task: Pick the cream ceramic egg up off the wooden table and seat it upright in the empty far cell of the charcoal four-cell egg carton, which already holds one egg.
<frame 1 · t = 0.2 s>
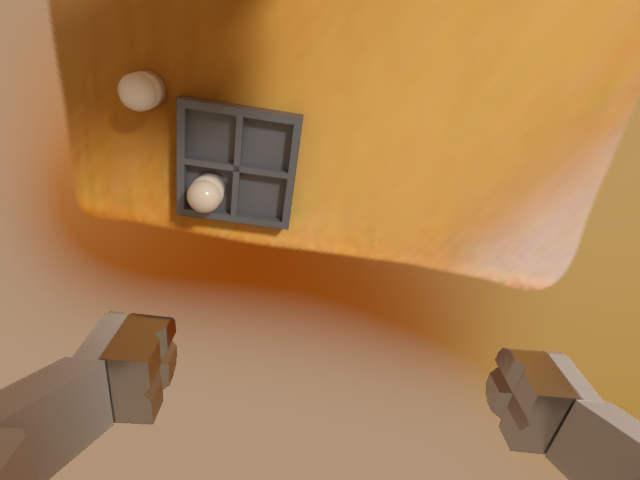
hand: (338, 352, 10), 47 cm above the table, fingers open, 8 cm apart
egg: (148, 88, 52), on the table
resting egg: (210, 187, 57), point 1 cm above the table, touching carton
carton: (239, 163, 56), on the table
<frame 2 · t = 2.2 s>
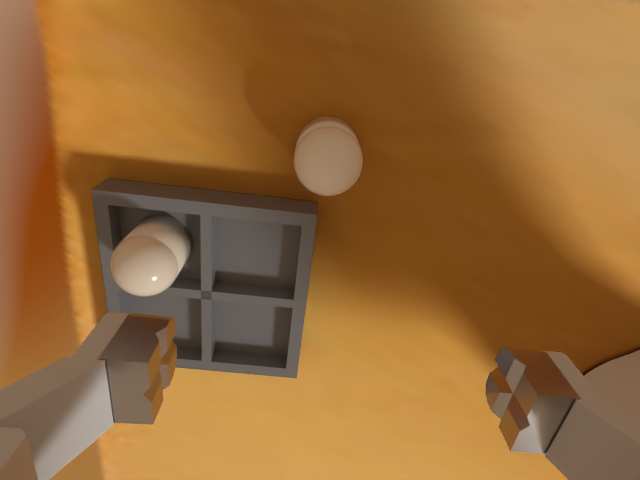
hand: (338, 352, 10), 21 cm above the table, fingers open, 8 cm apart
egg: (327, 147, 29), on the table
resting egg: (163, 240, 32), point 1 cm above the table, touching carton
carton: (213, 278, 34), on the table
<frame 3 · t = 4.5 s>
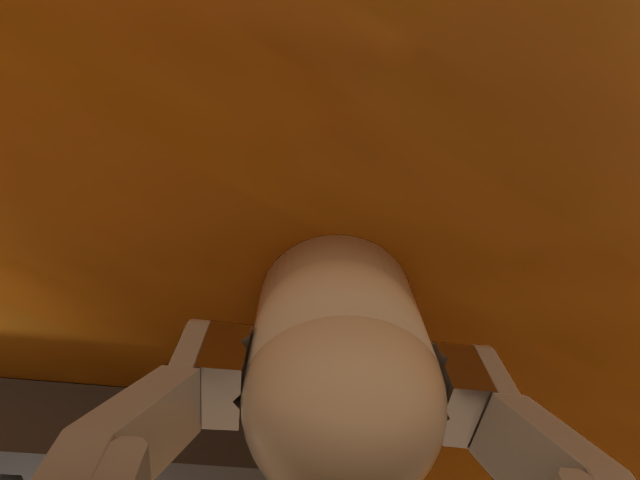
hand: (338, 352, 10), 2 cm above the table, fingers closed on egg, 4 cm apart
egg: (335, 301, 12), on the table, touching gripper
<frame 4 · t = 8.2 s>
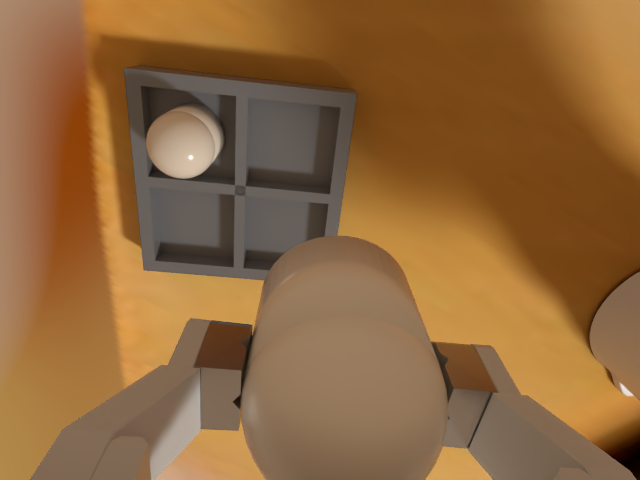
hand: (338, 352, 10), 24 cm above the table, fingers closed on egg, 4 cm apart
egg: (335, 302, 12), point 22 cm above the table, touching gripper
resting egg: (195, 133, 31), point 1 cm above the table, touching carton
carton: (245, 180, 33), on the table
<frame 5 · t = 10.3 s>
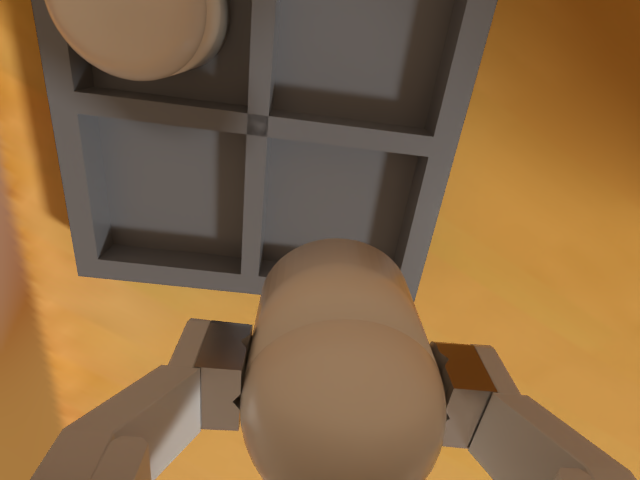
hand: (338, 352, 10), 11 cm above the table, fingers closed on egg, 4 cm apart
egg: (334, 304, 12), point 8 cm above the table, touching gripper
resting egg: (171, 7, 15), point 1 cm above the table, touching carton
carton: (265, 113, 18), on the table
when the fingers open (4 cm above the table, at t = 12.1 s): egg stays where it is, resting on carton.
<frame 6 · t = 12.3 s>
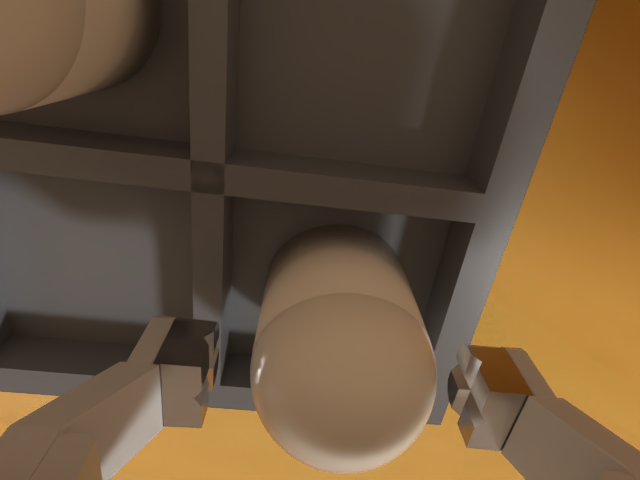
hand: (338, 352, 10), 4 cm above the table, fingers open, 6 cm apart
egg: (335, 287, 13), point 1 cm above the table, touching carton
carton: (227, 151, 12), on the table
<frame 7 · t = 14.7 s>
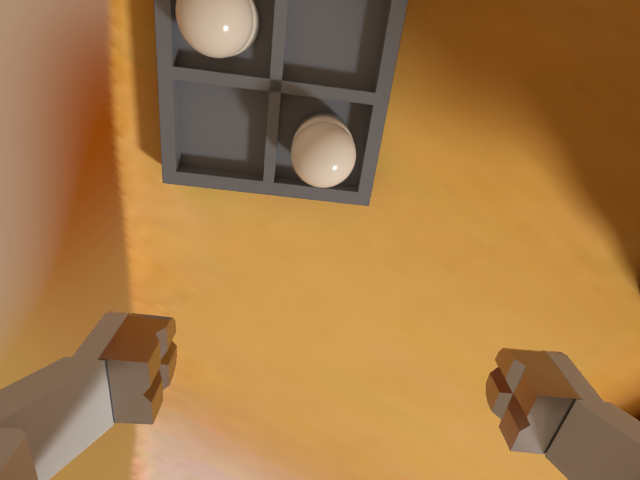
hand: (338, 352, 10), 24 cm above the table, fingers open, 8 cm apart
egg: (322, 142, 31), point 1 cm above the table, touching carton
resting egg: (226, 19, 27), point 1 cm above the table, touching carton
carton: (278, 82, 30), on the table
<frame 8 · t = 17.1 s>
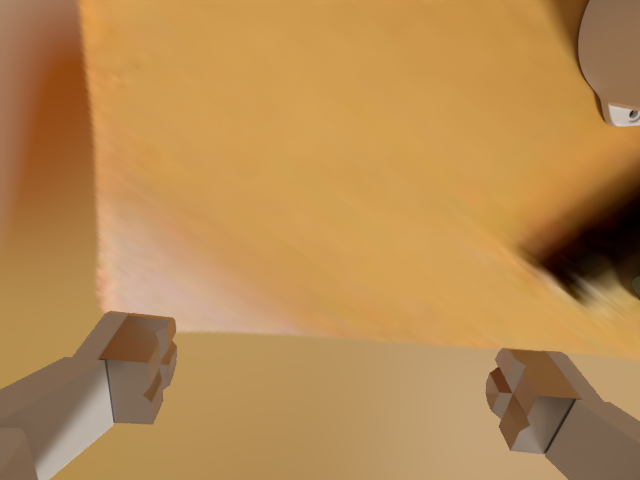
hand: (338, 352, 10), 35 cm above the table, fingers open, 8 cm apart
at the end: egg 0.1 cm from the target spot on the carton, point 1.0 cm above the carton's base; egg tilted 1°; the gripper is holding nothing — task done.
